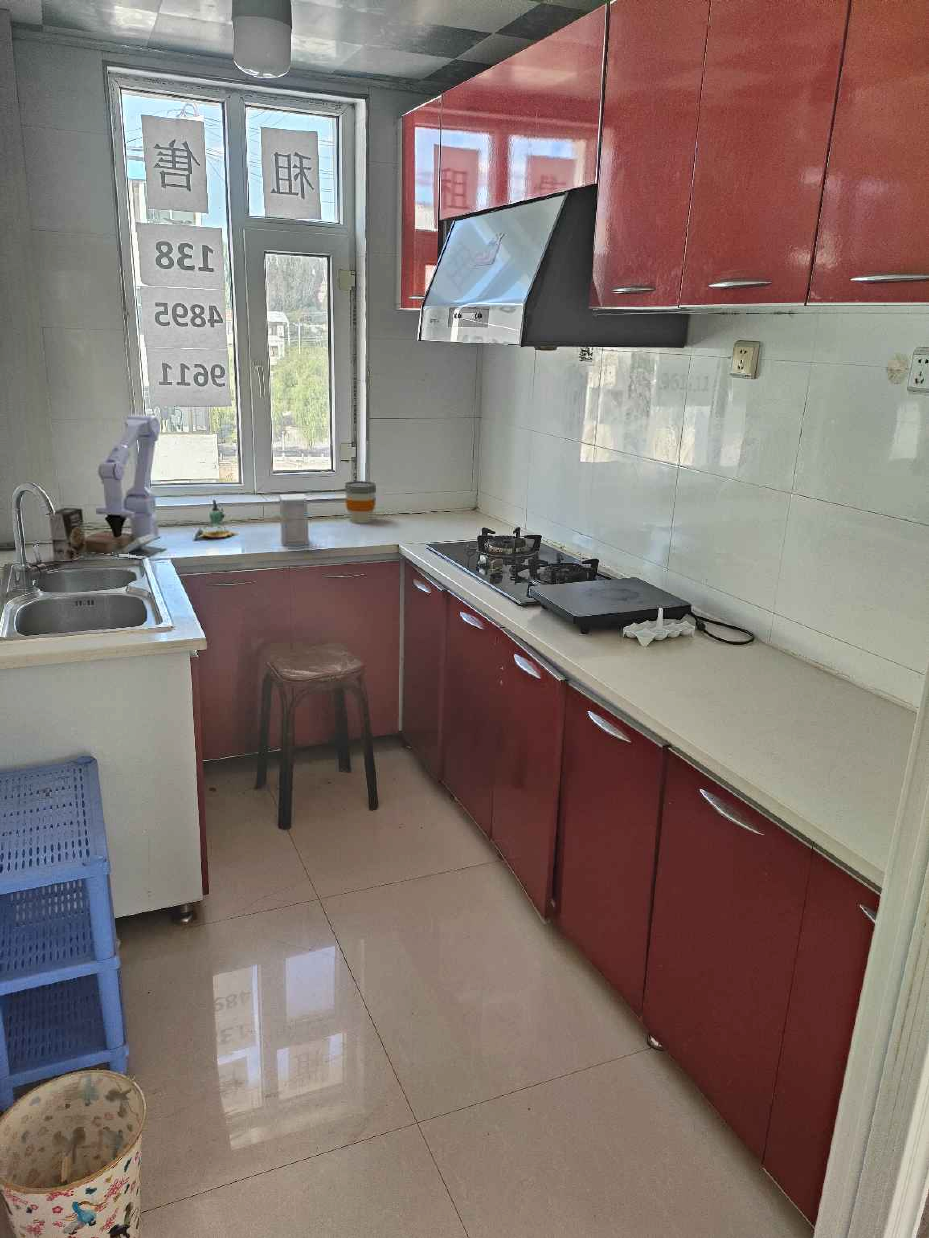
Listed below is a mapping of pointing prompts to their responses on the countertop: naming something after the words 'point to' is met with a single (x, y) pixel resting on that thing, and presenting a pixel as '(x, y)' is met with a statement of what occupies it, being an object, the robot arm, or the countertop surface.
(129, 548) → the tile
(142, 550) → the mat
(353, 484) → the reusable coffee cup
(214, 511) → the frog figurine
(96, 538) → the flat brown box
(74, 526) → the coffee box
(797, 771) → the countertop surface
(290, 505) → the supplement box
